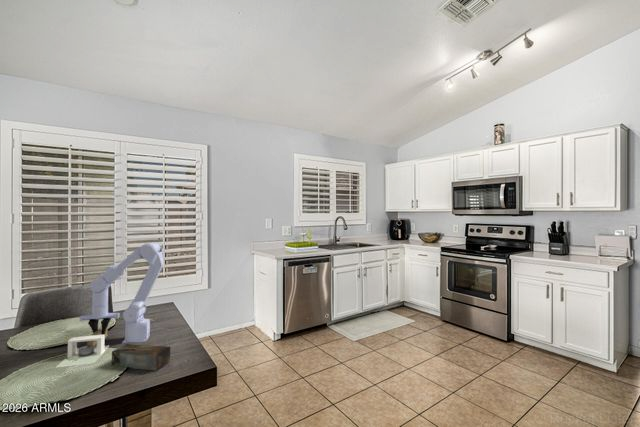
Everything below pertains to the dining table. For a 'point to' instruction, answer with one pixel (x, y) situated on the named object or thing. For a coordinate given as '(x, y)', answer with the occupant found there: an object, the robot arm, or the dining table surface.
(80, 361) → the floor board
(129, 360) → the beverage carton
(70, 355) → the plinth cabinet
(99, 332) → the blade batten
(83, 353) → the token
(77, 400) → the dining table surface
